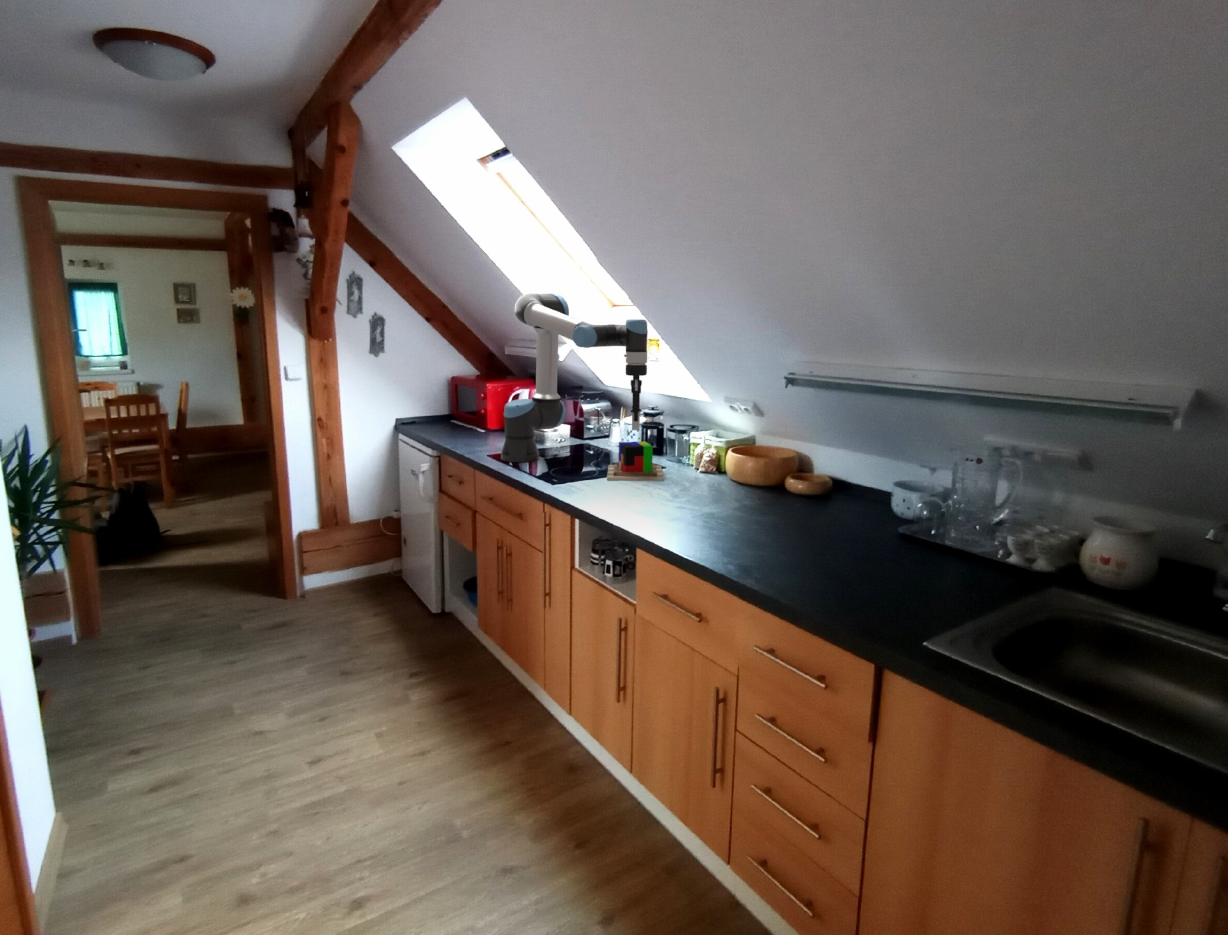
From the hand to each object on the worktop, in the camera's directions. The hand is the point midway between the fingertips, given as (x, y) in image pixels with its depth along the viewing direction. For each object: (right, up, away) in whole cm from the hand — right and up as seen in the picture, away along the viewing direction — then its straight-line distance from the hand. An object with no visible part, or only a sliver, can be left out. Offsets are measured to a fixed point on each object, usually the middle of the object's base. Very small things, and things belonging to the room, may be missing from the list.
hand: (635, 429), depth 252 cm
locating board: (0, -16, +4) cm, 16 cm away
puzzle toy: (0, -15, +3) cm, 16 cm away
